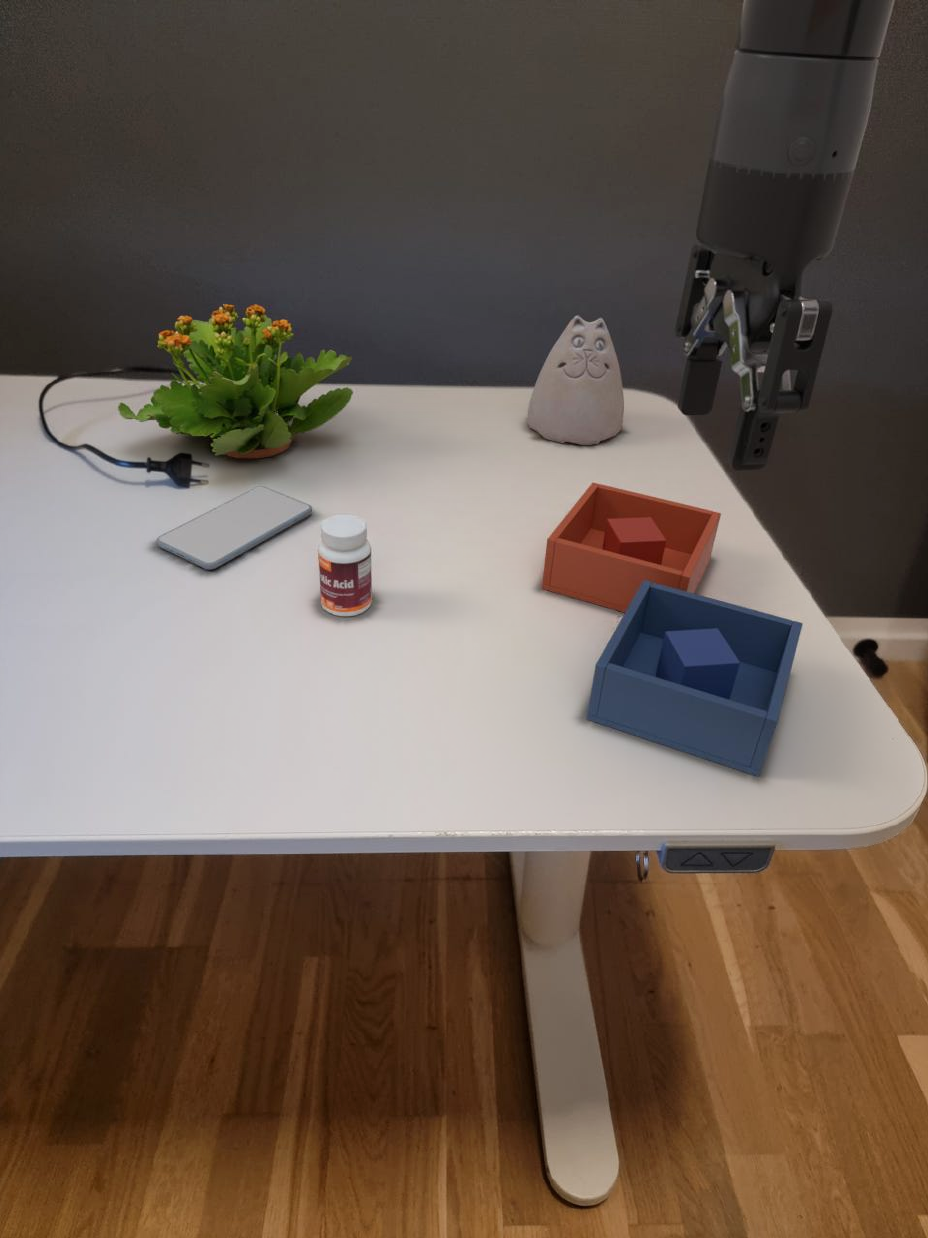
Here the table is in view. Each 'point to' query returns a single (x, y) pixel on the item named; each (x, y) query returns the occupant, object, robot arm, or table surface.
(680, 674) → the blue block
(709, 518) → the terracotta bin
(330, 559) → the pill bottle
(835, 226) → the robot arm
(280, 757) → the table surface
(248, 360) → the potted flower
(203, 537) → the smartphone
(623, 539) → the red block
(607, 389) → the sculpture
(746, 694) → the slate bin
